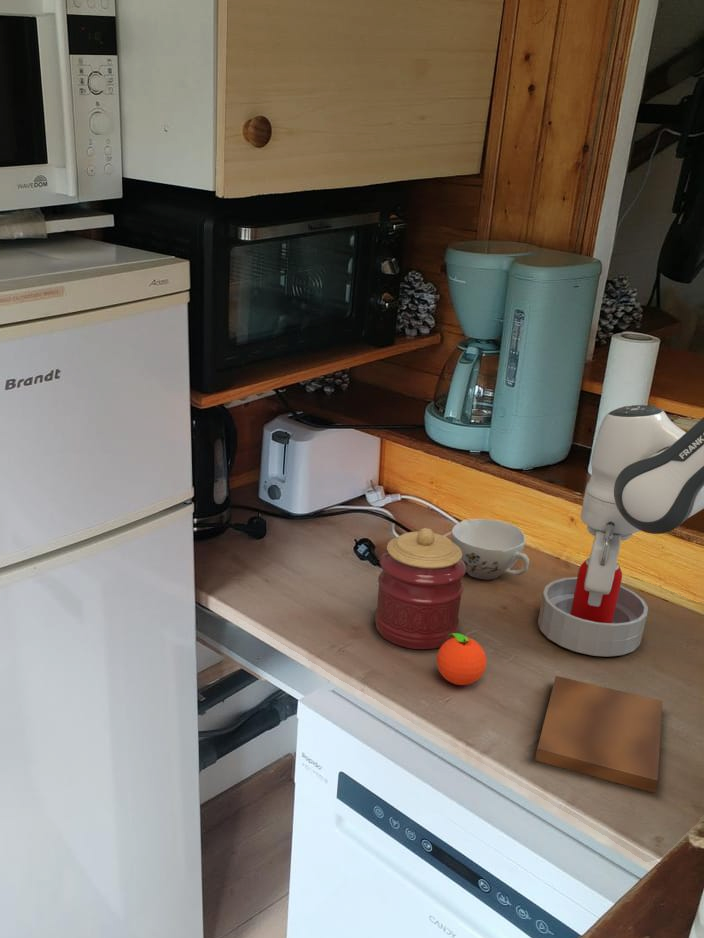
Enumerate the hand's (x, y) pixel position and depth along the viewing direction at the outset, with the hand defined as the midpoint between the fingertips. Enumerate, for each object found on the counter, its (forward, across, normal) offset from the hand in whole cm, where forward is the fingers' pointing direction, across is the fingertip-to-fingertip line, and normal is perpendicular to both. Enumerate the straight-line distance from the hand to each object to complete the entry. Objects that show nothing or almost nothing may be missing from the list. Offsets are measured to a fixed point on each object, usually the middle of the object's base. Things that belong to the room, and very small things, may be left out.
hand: (596, 593), depth 140 cm
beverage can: (+7, 0, 0) cm, 7 cm away
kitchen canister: (+7, -11, +25) cm, 28 cm away
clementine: (+7, -22, +16) cm, 28 cm away
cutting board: (+7, -27, -4) cm, 28 cm away
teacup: (+7, +13, +18) cm, 23 cm away
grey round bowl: (+7, 0, 0) cm, 7 cm away
